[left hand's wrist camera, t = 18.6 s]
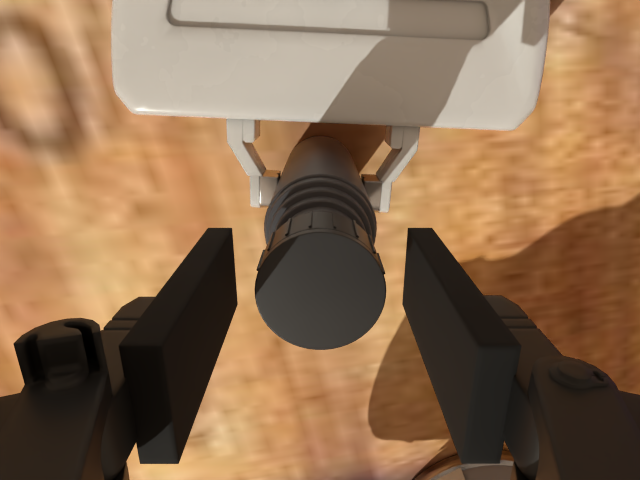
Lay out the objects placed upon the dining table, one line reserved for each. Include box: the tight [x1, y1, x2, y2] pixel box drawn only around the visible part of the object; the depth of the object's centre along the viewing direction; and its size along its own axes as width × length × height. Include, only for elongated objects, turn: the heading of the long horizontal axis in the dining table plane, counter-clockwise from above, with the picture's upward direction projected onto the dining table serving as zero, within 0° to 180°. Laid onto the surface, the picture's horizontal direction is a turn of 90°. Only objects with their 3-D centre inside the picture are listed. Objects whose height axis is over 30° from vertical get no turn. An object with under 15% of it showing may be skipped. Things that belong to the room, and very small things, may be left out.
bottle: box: [264, 136, 377, 244], centre depth 21 cm, size 5×5×18 cm
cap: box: [255, 211, 386, 350], centre depth 13 cm, size 4×4×2 cm
